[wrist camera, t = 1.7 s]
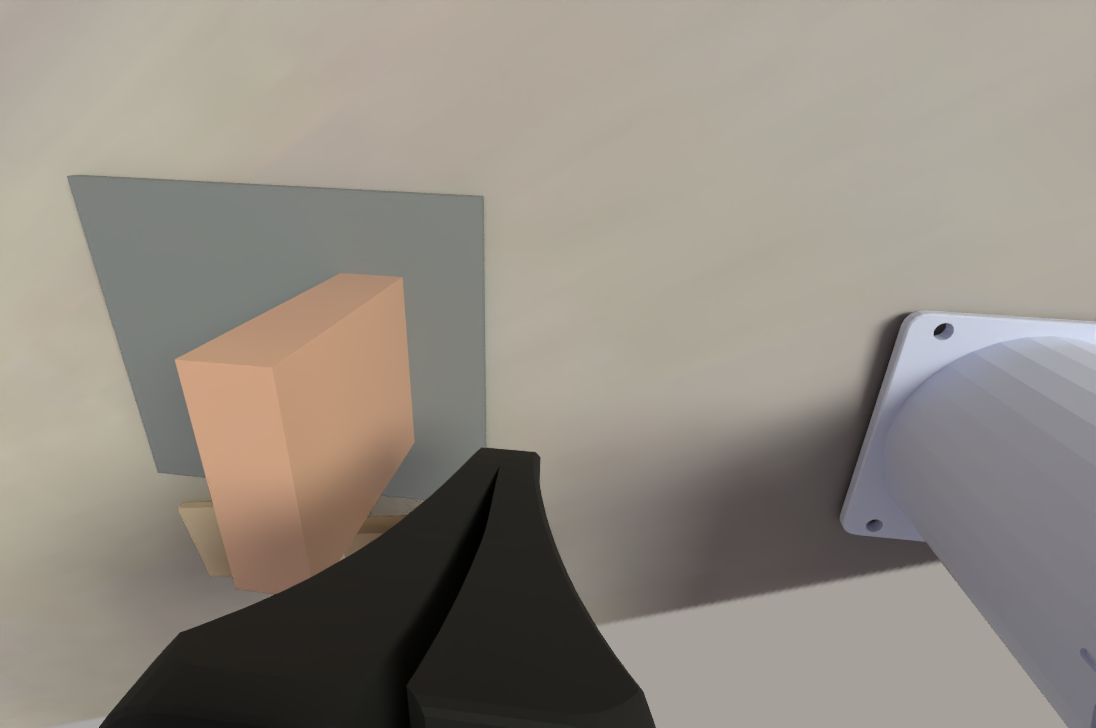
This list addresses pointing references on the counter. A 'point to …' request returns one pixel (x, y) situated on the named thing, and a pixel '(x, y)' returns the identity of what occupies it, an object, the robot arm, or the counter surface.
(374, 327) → the tile
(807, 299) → the counter surface
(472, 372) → the mat
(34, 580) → the counter surface
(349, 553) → the wooden cleaver
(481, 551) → the robot arm
